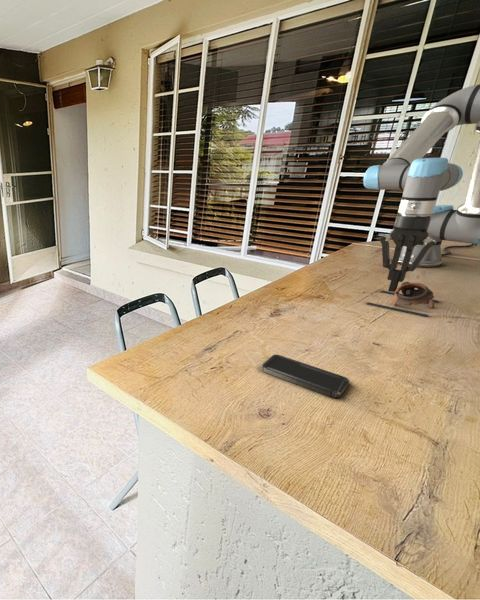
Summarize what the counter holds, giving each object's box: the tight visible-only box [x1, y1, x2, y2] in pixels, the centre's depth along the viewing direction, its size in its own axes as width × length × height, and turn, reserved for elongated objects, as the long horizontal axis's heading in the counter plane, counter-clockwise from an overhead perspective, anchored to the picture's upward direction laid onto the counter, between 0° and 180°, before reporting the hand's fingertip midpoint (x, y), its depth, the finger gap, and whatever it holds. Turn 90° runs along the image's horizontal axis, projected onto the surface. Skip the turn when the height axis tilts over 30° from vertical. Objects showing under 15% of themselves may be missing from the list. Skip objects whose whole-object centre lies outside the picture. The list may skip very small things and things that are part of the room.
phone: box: [261, 354, 350, 399], centre depth 76 cm, size 8×1×15 cm
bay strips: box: [366, 289, 440, 318], centre depth 109 cm, size 16×14×1 cm
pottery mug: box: [392, 281, 436, 309], centre depth 107 cm, size 12×10×8 cm
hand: (392, 290), depth 110 cm, fingers closed
